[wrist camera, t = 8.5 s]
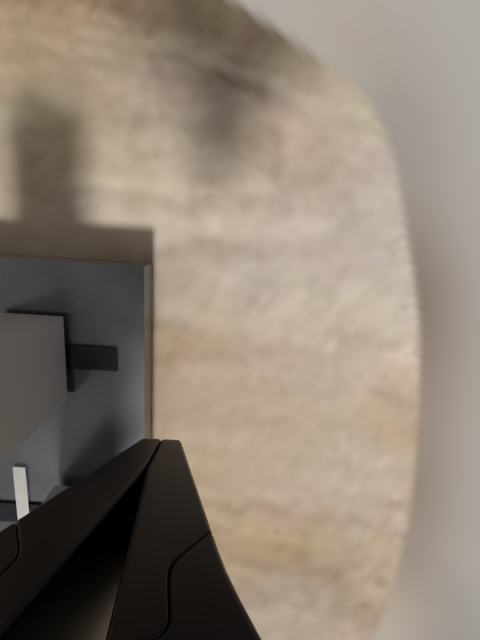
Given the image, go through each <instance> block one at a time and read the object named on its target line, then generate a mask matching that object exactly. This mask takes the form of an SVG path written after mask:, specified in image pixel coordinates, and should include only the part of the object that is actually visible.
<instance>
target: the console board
mask: <svg viewBox="0 0 480 640" xmlns="http://www.w3.org/2000/svg"><path fill="white" fill-rule="evenodd" d="M0 313H14V314H31V315H47V316H63V323H64V341H65V359H66V377H67V396H68V400H66V401H65V402H64V403H63V404H62V405H61V406H60V407H59V408H58V409H57V410H56V411H55V412H54V413H53V414H52V415H51V416H50V417H49V418H48V419H47V420H46V421H45V422H44V423H43V424H42V425H41V426H40V427H39V428H38V429H37V430H36V431H35V432H34V433H33V434H32V435H31V436H30V437H29V438H28V439H27V440H26V441H25V442H24V443H23V444H22V445H21V446H20V447H19V448H18V449H17V450H16V451H15V452H14V453H13V454H12V455H11V456H9V457H8V458H7V459H6V460H5V461H4V462H3V463H2V464H1V465H0V531H2V530H3V529H5V528H6V527H8V526H9V525H11V524H13V523H15V524H16V522H17V520H19V519H20V518H22V517H23V516H25V515H27V514H28V513H30V512H31V511H33V510H34V509H36V508H37V507H39V506H40V505H41V504H42V502H43V501H44V500H45V498H46V497H47V496H48V494H49V493H50V491H51V490H52V489H53V487H54V486H71V485H72V484H74V483H76V482H77V481H79V480H80V479H82V478H83V477H85V476H86V475H88V474H89V473H91V472H92V471H94V470H95V469H97V468H98V467H100V466H102V465H103V464H105V463H106V462H108V461H109V460H111V459H112V458H114V457H115V456H117V455H118V454H120V453H121V452H123V451H124V450H126V449H128V448H129V447H131V446H132V445H134V444H135V443H137V442H138V441H140V440H141V439H144V438H149V439H152V263H138V262H121V261H105V260H89V259H73V258H57V257H40V256H24V255H8V254H0Z"/></svg>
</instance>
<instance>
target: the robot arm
mask: <svg viewBox="0 0 480 640" xmlns="http://www.w3.org/2000/svg"><path fill="white" fill-rule="evenodd" d="M0 640H261V638H260V636H259V634H258V633H257V631H256V629H255V627H254V625H253V623H252V621H251V619H250V618H249V616H248V614H247V612H246V610H245V608H244V606H243V604H242V603H241V601H240V599H239V597H238V595H237V593H236V591H235V589H234V587H233V585H232V582H231V580H230V578H229V576H228V574H227V572H226V570H225V567H224V565H223V562H222V559H221V557H220V554H219V552H218V549H217V546H216V543H215V540H214V537H213V536H212V532H211V529H210V526H209V523H208V521H207V518H206V515H205V512H204V509H203V506H202V503H201V500H200V497H199V494H198V491H197V488H196V485H195V482H194V480H193V477H192V474H191V471H190V468H189V465H188V462H187V459H186V456H185V453H184V450H183V447H182V444H181V442H180V441H179V440H166V439H165V440H162V441H161V440H159V439H149V438H144V439H141V440H140V441H138V442H137V443H135V444H134V445H132V446H131V447H129V448H128V449H126V450H124V451H123V452H121V453H120V454H118V455H117V456H115V457H114V458H112V459H111V460H109V461H108V462H106V463H105V464H103V465H102V466H100V467H98V468H97V469H95V470H94V471H92V472H91V473H89V474H88V475H86V476H85V477H83V478H82V479H80V480H79V481H77V482H76V483H74V484H72V485H71V486H69V487H68V488H66V489H65V490H63V491H62V492H60V493H59V494H57V495H56V496H54V497H53V498H51V499H50V500H48V501H46V502H45V503H43V504H42V505H40V506H39V507H37V508H36V509H34V510H33V511H31V512H30V513H28V514H27V515H25V516H23V517H22V518H20V519H19V520H17V522H16V524H15V523H13V524H11V525H9V526H8V527H6V528H5V529H3V530H2V531H0Z"/></svg>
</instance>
